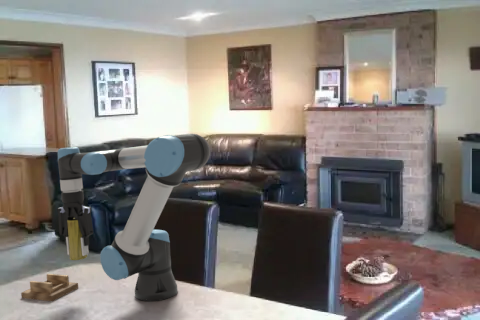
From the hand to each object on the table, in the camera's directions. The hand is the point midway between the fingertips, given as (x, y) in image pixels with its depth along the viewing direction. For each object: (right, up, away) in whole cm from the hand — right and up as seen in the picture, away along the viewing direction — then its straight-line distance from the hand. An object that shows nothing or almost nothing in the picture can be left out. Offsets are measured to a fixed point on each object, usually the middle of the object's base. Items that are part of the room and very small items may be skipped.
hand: (78, 254), depth 182 cm
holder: (-12, -15, +6) cm, 20 cm away
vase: (0, -2, 0) cm, 2 cm away
